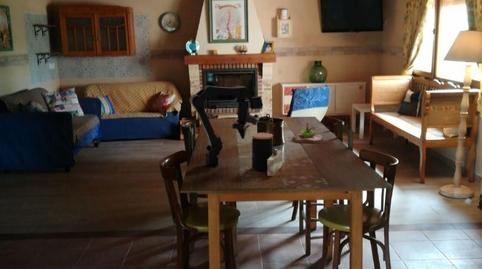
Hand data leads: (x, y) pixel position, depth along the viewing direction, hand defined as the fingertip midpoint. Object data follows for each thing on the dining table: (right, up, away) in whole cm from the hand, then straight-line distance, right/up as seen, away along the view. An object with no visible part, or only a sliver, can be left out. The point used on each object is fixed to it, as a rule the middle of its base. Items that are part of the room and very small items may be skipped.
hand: (243, 138), depth 251 cm
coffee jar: (+10, -16, -10) cm, 21 cm away
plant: (+42, -2, +53) cm, 68 cm away
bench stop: (+16, -16, -11) cm, 25 cm away
